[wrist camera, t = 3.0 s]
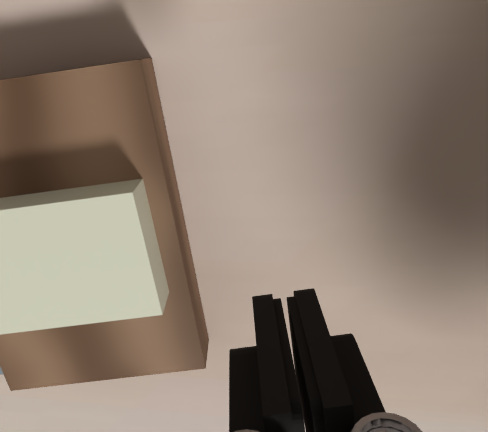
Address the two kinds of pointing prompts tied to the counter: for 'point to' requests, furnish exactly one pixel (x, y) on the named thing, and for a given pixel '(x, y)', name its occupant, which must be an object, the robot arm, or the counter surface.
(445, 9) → the counter surface
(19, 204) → the sage tile
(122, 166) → the walnut deck
